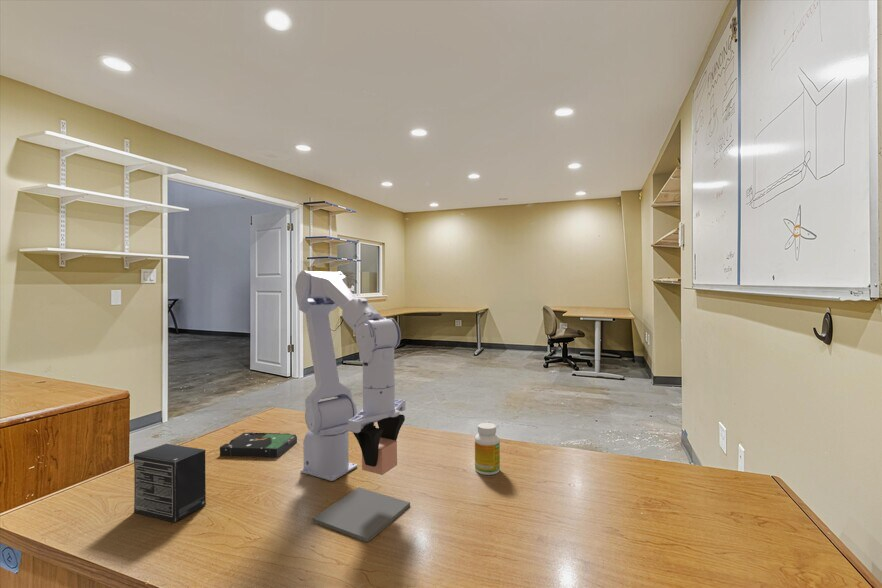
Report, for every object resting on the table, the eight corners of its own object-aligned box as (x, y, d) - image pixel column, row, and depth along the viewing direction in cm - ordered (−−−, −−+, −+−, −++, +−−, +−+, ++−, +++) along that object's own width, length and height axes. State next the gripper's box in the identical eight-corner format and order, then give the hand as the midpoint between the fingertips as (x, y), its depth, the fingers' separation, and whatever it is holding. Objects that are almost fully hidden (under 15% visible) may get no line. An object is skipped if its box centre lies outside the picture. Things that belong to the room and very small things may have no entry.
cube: (362, 469, 72) (361, 444, 72) (377, 460, 76) (377, 436, 76) (382, 475, 70) (382, 449, 70) (397, 465, 74) (396, 440, 73)
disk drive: (219, 459, 95) (278, 459, 94) (218, 447, 95) (278, 447, 94) (243, 442, 106) (297, 443, 104) (243, 432, 106) (297, 432, 104)
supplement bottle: (499, 476, 83) (498, 430, 83) (473, 474, 85) (473, 429, 84) (500, 465, 89) (500, 422, 89) (476, 463, 90) (476, 420, 90)
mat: (312, 521, 68) (312, 518, 68) (358, 490, 78) (358, 487, 78) (367, 542, 62) (367, 538, 62) (410, 505, 72) (410, 502, 72)
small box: (209, 504, 74) (208, 447, 74) (175, 524, 68) (174, 462, 67) (167, 495, 77) (167, 441, 77) (132, 513, 71) (131, 454, 71)
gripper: (371, 397, 64) (372, 481, 64) (418, 379, 77) (419, 449, 77) (338, 392, 68) (339, 472, 68) (388, 376, 80) (389, 443, 80)
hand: (379, 459), depth 73 cm, fingers closed on cube, 4 cm apart
